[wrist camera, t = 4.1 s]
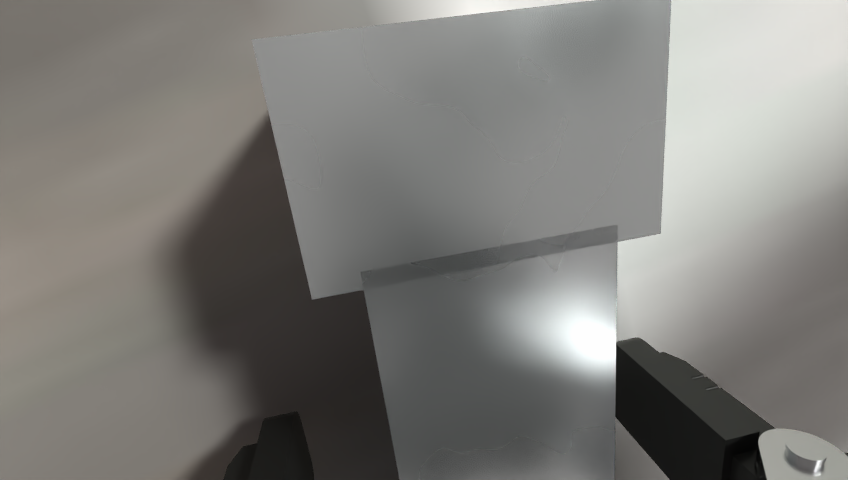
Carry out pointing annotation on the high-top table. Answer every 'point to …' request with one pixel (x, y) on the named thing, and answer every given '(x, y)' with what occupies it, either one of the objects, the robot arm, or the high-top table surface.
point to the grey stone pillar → (480, 217)
